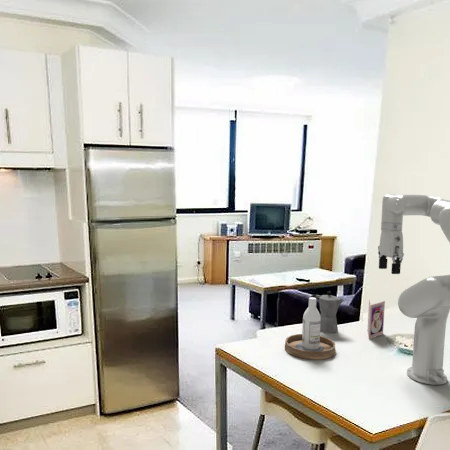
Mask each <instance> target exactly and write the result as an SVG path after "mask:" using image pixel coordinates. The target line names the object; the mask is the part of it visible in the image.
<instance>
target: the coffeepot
mask: <svg viewBox="0 0 450 450" xmlns="http://www.w3.org/2000/svg"><path fill="white" fill-rule="evenodd" d="M331 293H332V291H330V290H329V291H327V294H322V295H320V294H312V295H311V296H310V297H314V298H316V300H318V303H319V312H320V317H321V325H320V333H325V334H334V333H337V332H338V331H339V330H338V321H337V313H338V309H339V307H340V305H341V304H342V303H343V302H345V300H344V299H343V298H340V297H338V296H335V295H332V294H331Z"/></svg>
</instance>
